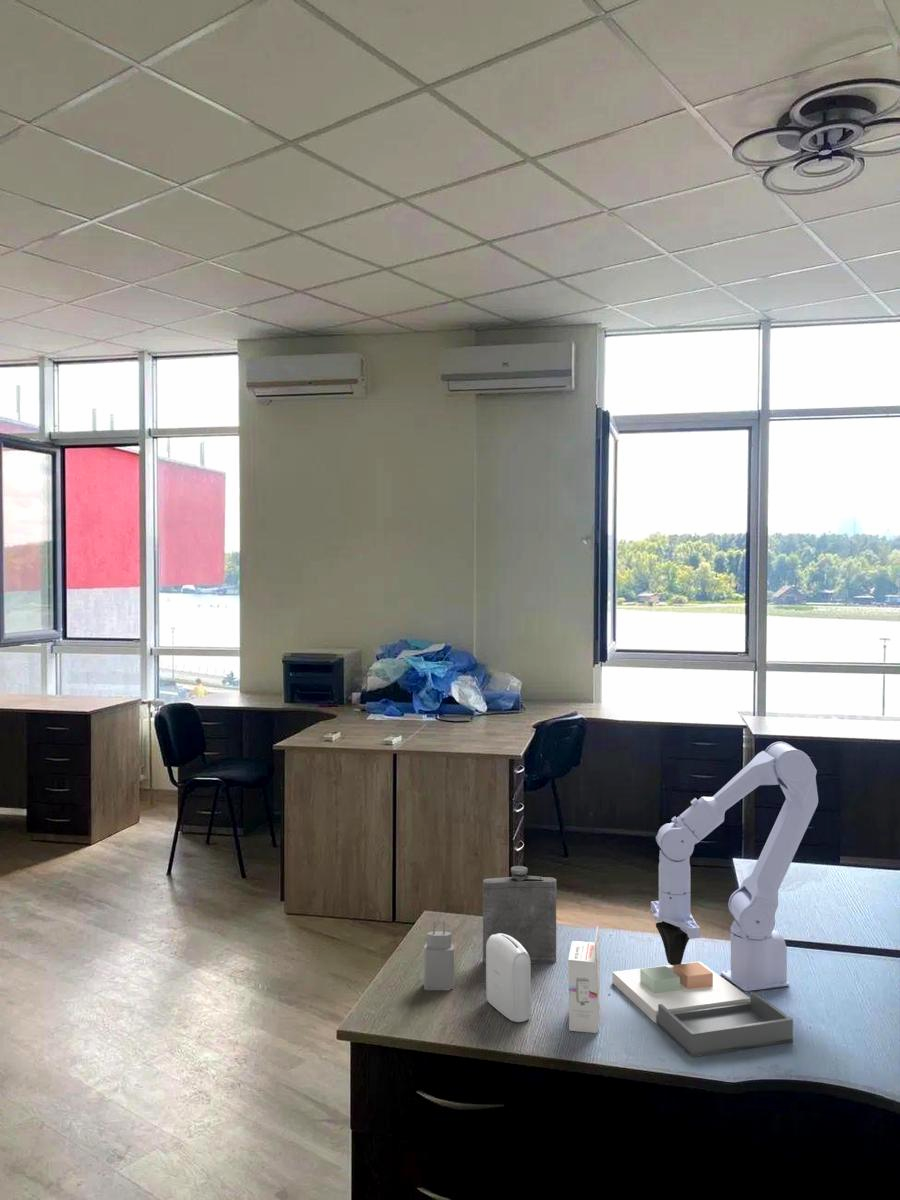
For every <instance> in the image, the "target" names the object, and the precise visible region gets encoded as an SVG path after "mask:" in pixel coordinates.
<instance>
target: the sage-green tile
mask: <svg viewBox="0 0 900 1200" xmlns="http://www.w3.org/2000/svg"><path fill="white" fill-rule="evenodd" d="M660 966H661V967H657V966H652V967H653V968H649V967H644V968H645V969H640V968H639V969H640V981H641V982H642V983H643V984H644V985H645V986H646V987H647V988H649V989H650V990H651V991H652V992H653V993H661V992H669V991H676V990H680V977H679V976H678V975H676V974H675V973H674V972H672V971H671V970H670V969H669V968H667V967H666V966H665V965H660Z"/></svg>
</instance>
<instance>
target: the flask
mask: <svg viewBox="0 0 900 1200" xmlns="http://www.w3.org/2000/svg"><path fill="white" fill-rule="evenodd" d="M510 872H511V877H509V876H508V877H507V876H505V877H495V878H494V877H493V878H485V879H483V881H482V963H483V962H484V963H485V964H484V963H483V964H484V965H486V944H487V941H488V939H489V937H490V936H491V935H494V934H499V933H502V934H506V935H509V936H511V937H512V938H514V939H515V940H517V941H518V942H519V943H520V944H521V945H522V946H523V947H524V948H525V950H526V951H527V953H528V955H529V957H530V962H536V963H535V964H547V963H549V964H550V965H551V964H552V965H553V964H555V963H556V962H557V879H556V878H554V877H548V876H546V877H545V876H544V877H543V876H538V875H527V874H528V873H529V872H528V867H527V866H522V865H514V866H512V867H510ZM549 964H548V965H549Z"/></svg>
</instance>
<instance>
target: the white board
mask: <svg viewBox="0 0 900 1200" xmlns="http://www.w3.org/2000/svg"><path fill="white" fill-rule="evenodd" d="M694 962H695V961H692V962H689V963H694ZM697 962H698V963H700V964H701V965H702V966H704V967H705V968H706V969H708V970H709V971H710V972H712V973H713V986H707V987H699V988H692V989H687V988H686V987H684V986H683V985H682V984H681V983H680V990H676V991H669V992H661V993H653V992H652V991H651V990H650V989H649V988H647V987H646V986H645V985H644V984H643V983H642V982H641V981H640V969H645V968H646V967H642V968H633V969H632V968H631V969H625V970H624V969H623V970H616V971H612V984H613V985H614V986H615V987H616V988H617V989H618V990H620V991H621V992H622V994H624V995H625V996H626V997H627V998H628V999H629V1000H630V1001H631V1002H632V1003H633V1004H634V1005H635V1006H636V1007H638V1008H639V1009H640V1010H641V1011H642V1012H643V1013H644V1014H645V1015H646V1016H647V1017H648V1018H649V1019H650V1020H652V1021H653V1022H654V1023H655V1024H656V1015H658V1004H662V1005H663V1006H664V1007H666V1008H667V1009H668V1010H669V1011H670V1012H671V1013H674V1012H681V1011H688V1010H696V1009H703V1008H710V1007H717V1006H725V1005H732V1004H739V1003H746V1002H750V996H748V994H747V995H746V993H744V992H743V991H741V990H740V988H738V987H736V986H734V985H733V984H732V983H731V982H729V980H726V979H725V978H724V977H722V976H720V975H719V974H718V973H717V972H716V971H714V970H712V969H711V968H710V967H709V966H707V965H706V964H704V963H703V962H702V961H700V960H699V961H697ZM686 963H687V962H684V963H683V962H681V964H686ZM661 966H662V965H658V966H656V967H661ZM664 966H666V967H667V968H669V969H670V970H671V971H672V972H673V965H670V964H668V965H667V964H666V965H664ZM653 967H654V966H650V967H648V968H653Z"/></svg>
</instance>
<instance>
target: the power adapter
mask: <svg viewBox="0 0 900 1200" xmlns="http://www.w3.org/2000/svg"><path fill="white" fill-rule="evenodd" d="M442 924H443V928H442V929H443V931H441V930H440V931H438V930H437V931H436V922H435V919H433V921H432V927H433V928H432V931H429V932H427V933H426V943H425V944H424V945H423V990H424V991H446V990H445V989H453V988H454V989H455V944H453V943H452V933H451V932H450V931H446V920H445V919H444V920H443V923H442ZM454 989H453V990H454Z"/></svg>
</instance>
